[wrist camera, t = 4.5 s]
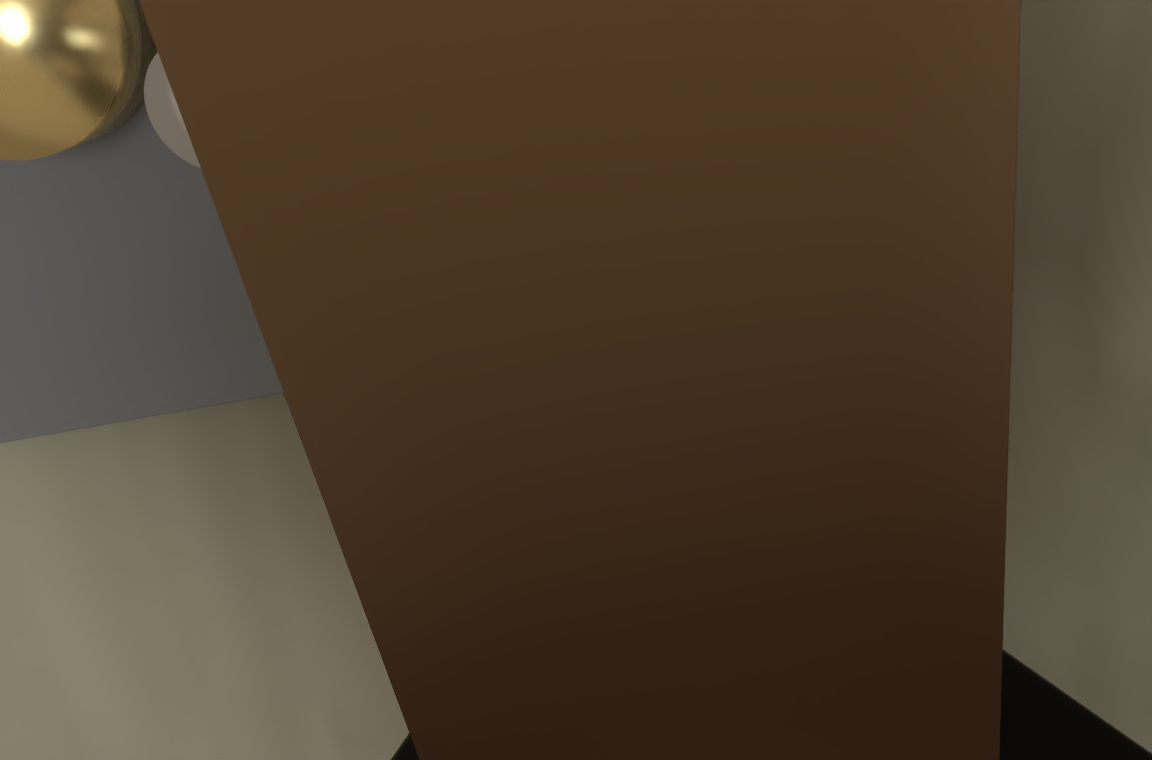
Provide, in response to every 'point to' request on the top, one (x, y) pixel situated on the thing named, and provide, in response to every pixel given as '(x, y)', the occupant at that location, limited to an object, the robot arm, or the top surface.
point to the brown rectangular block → (640, 353)
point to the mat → (118, 290)
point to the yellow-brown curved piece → (69, 72)
